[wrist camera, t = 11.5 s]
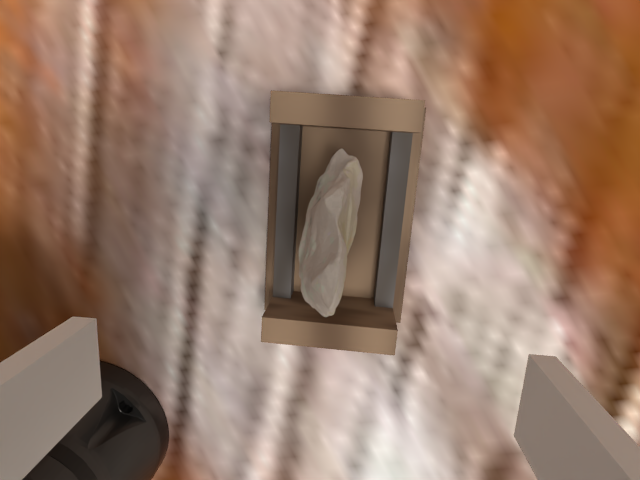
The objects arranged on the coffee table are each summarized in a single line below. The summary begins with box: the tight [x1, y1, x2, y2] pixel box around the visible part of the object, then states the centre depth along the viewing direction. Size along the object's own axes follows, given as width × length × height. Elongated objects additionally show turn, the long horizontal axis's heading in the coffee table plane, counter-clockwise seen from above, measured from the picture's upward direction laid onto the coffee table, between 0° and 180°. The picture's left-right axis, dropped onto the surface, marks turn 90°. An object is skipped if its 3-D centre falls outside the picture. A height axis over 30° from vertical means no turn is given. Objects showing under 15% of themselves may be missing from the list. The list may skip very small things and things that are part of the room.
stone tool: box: [299, 148, 363, 317], centre depth 29 cm, size 11×4×15 cm, turn 172°
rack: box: [261, 91, 426, 355], centre depth 34 cm, size 12×18×7 cm, turn 176°
